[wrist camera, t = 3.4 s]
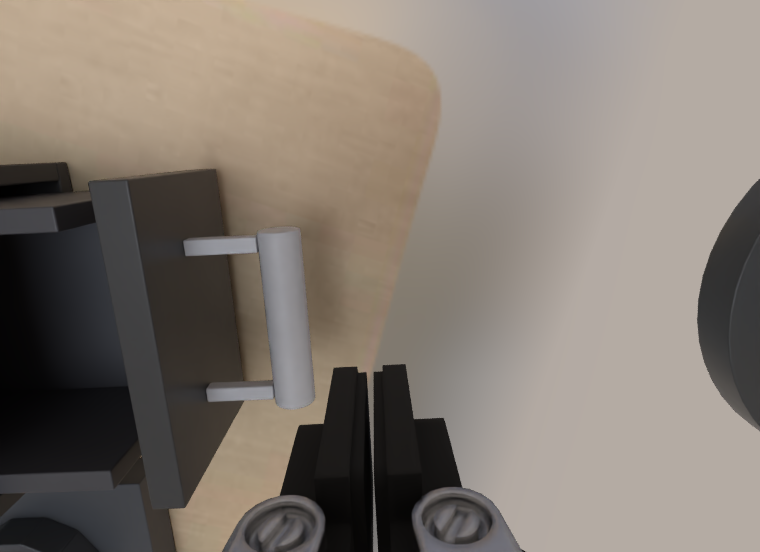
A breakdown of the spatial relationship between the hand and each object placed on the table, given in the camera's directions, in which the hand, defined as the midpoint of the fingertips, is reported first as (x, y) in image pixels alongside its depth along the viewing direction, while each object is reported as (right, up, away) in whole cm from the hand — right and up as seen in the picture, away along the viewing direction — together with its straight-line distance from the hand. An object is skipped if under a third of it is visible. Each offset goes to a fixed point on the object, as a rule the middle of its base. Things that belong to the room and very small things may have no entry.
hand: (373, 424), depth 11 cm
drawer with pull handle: (-11, +3, +12) cm, 17 cm away
